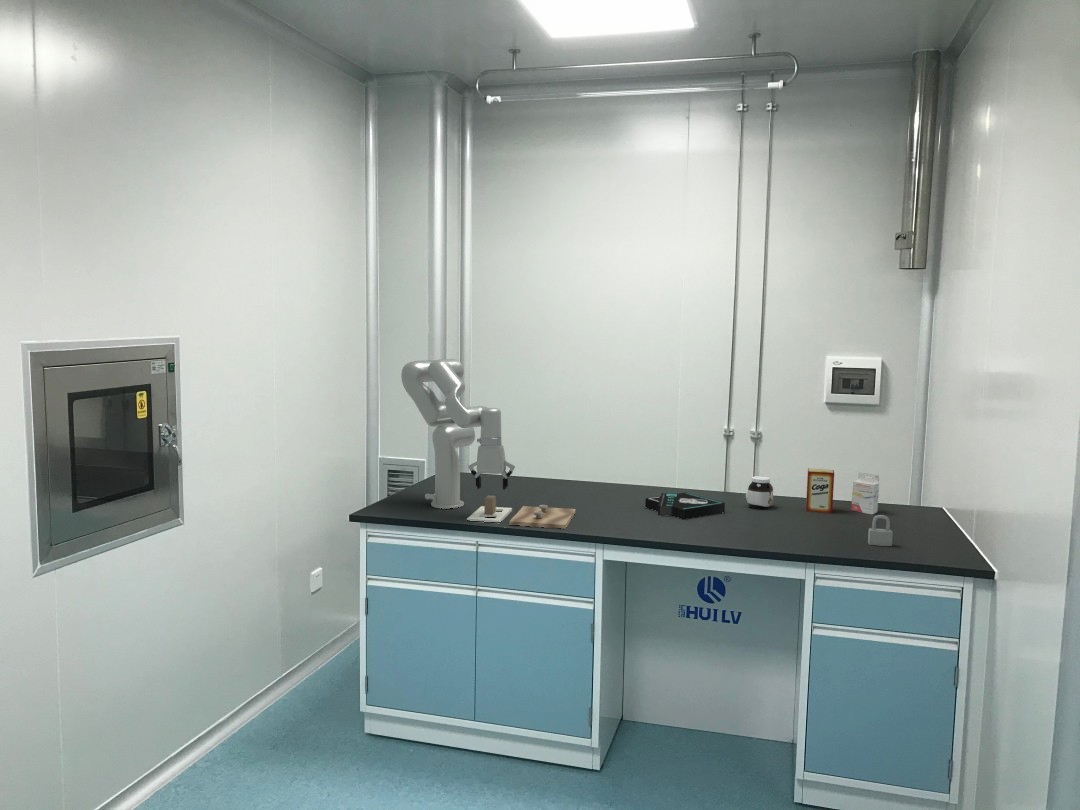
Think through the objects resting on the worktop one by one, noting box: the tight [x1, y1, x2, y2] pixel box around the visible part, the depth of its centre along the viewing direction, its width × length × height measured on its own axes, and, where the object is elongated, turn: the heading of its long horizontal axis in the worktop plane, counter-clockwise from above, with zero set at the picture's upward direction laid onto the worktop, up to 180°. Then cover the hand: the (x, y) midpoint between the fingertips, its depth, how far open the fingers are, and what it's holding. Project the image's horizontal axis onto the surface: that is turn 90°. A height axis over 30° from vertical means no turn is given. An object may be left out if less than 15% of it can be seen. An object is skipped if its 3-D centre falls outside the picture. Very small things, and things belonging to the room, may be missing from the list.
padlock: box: [867, 514, 894, 547], centre depth 272 cm, size 7×4×10 cm, turn 75°
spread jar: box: [745, 475, 774, 510], centre depth 326 cm, size 12×11×12 cm
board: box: [508, 504, 577, 530], centre depth 301 cm, size 20×24×4 cm
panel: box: [466, 495, 513, 523], centre depth 304 cm, size 12×20×7 cm, turn 169°
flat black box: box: [644, 492, 726, 520], centre depth 318 cm, size 30×4×30 cm
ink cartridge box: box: [850, 471, 880, 515], centre depth 318 cm, size 9×5×15 cm, turn 47°
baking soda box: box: [805, 467, 835, 514], centre depth 319 cm, size 10×6×16 cm
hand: (491, 488), depth 303 cm, fingers open, 9 cm apart
